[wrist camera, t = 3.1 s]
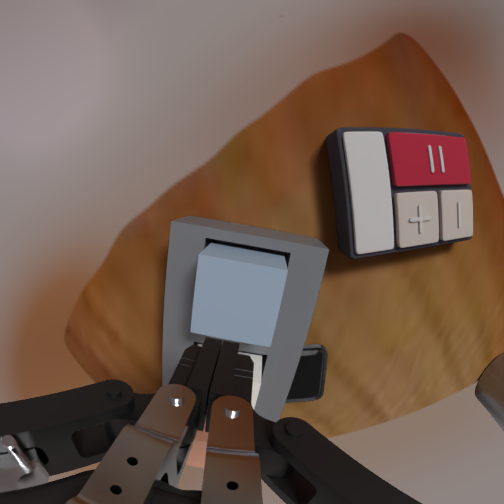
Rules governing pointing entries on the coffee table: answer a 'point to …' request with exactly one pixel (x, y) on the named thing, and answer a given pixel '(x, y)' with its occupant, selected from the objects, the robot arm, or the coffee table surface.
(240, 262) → the slate key
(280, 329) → the key panel
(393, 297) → the coffee table surface
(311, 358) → the phone
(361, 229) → the calculator
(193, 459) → the terracotta key
